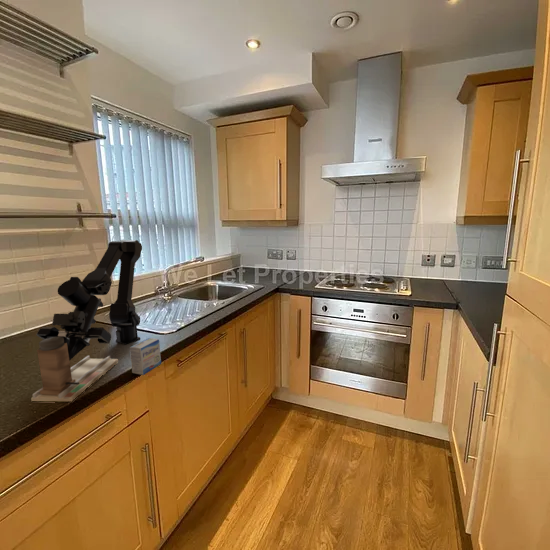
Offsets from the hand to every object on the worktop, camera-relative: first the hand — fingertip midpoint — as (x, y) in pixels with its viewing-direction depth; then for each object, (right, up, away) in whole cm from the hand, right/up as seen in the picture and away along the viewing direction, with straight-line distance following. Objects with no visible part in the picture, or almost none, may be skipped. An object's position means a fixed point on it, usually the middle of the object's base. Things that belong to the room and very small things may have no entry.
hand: (62, 364), depth 83 cm
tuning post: (+2, -6, -2) cm, 6 cm away
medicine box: (+18, -5, +12) cm, 22 cm away
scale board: (0, -6, +6) cm, 8 cm away
